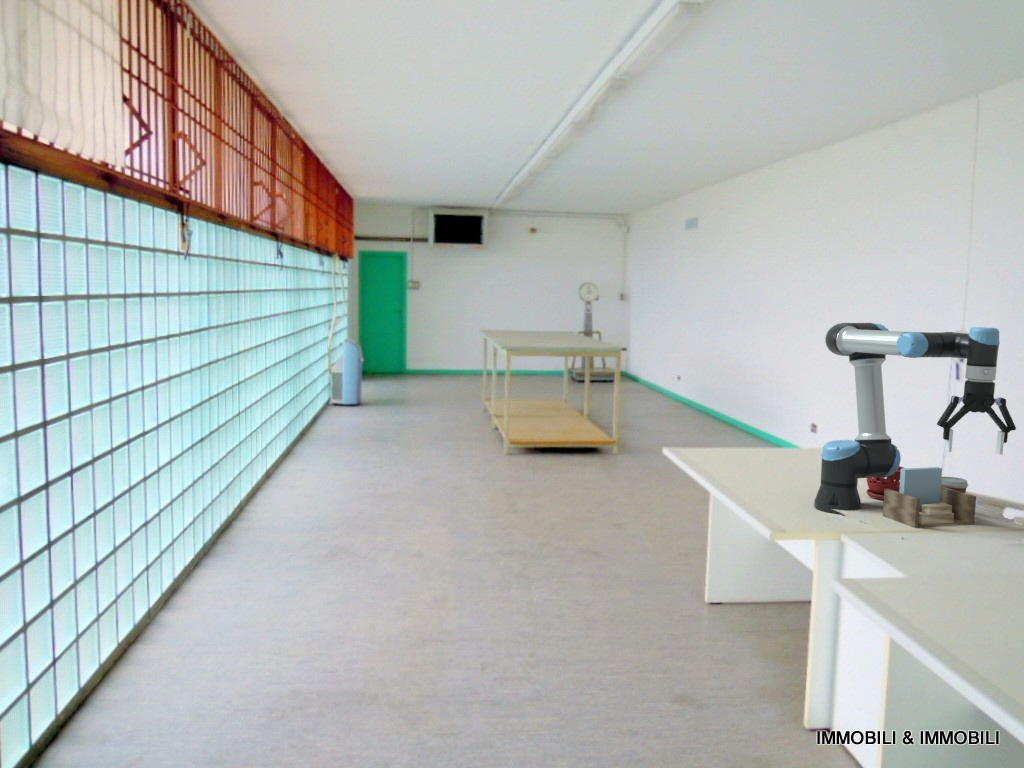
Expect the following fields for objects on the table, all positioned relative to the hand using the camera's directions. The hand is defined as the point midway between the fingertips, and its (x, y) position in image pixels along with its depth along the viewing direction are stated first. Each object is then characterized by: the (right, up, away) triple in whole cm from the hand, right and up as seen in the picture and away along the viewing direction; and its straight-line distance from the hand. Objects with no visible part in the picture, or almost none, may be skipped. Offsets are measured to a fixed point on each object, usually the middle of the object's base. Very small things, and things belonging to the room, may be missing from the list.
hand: (973, 452), depth 222 cm
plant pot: (+1, -22, +56) cm, 60 cm away
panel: (-3, -23, +24) cm, 33 cm away
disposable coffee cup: (+13, -24, +34) cm, 44 cm away
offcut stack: (-2, -24, +18) cm, 30 cm away
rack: (-3, -25, +20) cm, 32 cm away
